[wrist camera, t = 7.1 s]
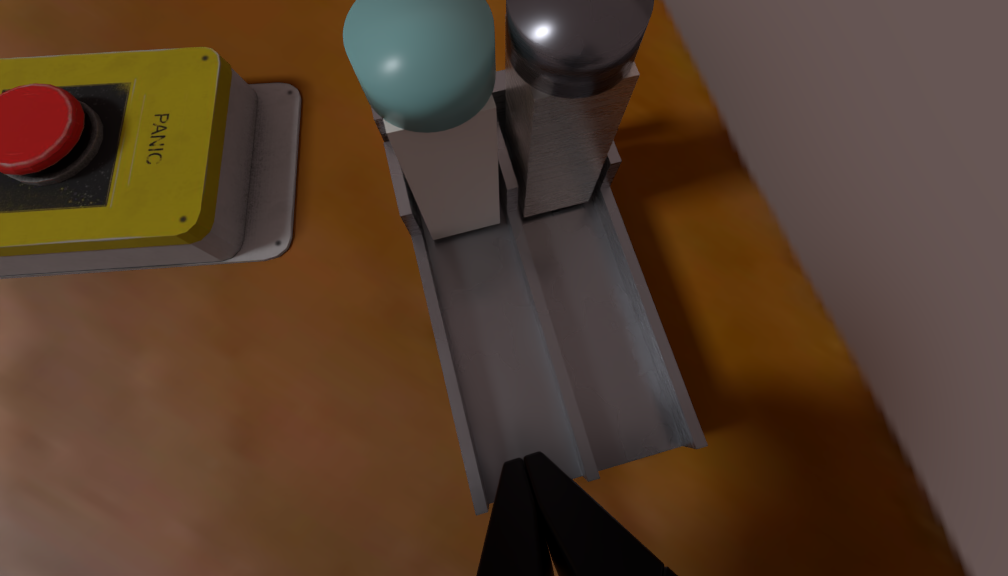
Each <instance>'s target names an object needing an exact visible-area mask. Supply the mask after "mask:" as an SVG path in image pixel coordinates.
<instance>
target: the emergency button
mask: <svg viewBox="0 0 1008 576" xmlns="http://www.w3.org/2000/svg"><path fill="white" fill-rule="evenodd" d="M300 114H301V96H300V93H299V91H298V89H296V88H295V87H293V86H292V85H291V84H286V83H263V84H247V83H246V82H245V81H244V80H243V79H242V78H241V77H240V76H239V75H238V74H237V73H236V72H235V71H234V70H233V69H232V68H231V65H230V64H229V63H228V62H227V61H225V60H224V59H223V58H222V57H221V56H220V55H219V54H218V53H217V52H215V51H214V50H213V49H212V48H206V47H193V48H176V49H159V50H141V51H124V52H107V53H90V54H72V55H55V56H38V57H20V58H3V59H0V279H6V278H21V277H36V276H51V275H65V274H80V273H95V272H110V271H124V270H139V269H154V268H169V267H183V266H198V265H213V264H227V263H242V262H257V261H267V260H271V259H274V258H278V257H279V256H281V255H282V254H283V253H284V252H285V251H287V250H288V248H289V246H290V243H291V241H292V234H293V219H294V204H295V189H296V174H297V159H298V144H299V129H300Z"/></svg>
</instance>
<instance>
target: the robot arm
mask: <svg viewBox="0 0 1008 576" xmlns="http://www.w3.org/2000/svg"><path fill="white" fill-rule="evenodd" d="M546 541H547V542H546ZM547 545H548V546H547ZM548 548H549V549H548ZM549 551H550V553H549ZM550 554H551V557H552V560H553V563H554V565H555V568H556V571H557V573H558V575H559V576H677V575H676V574H675V573H674V572H673V571H672V570H671V569H670V568H669V567H665V568H664V564H663V562H661V561H660V560H659V559H658V558H657V557H656V556H655V555H654V554H653V553H652V552H651V551H649V550H648V549H647V548H646V547H645V546H644V545H643V544H642V543H641V542H640V541H639V540H638V539H636V538H635V537H634V536H633V535H632V534H631V533H630V532H629V531H628V530H627V529H626V528H624V527H623V526H622V525H621V524H620V523H619V522H618V521H617V520H616V519H615V518H614V517H612V516H611V515H610V514H609V513H608V512H607V511H606V510H605V509H604V508H603V507H602V506H600V505H599V504H598V503H597V502H596V501H595V500H594V499H593V498H592V497H591V496H590V495H589V494H587V493H586V492H585V491H584V490H583V489H582V488H581V487H580V486H579V485H578V484H577V483H575V482H574V481H573V480H572V479H571V478H570V477H569V476H568V475H567V474H566V473H565V472H563V471H562V470H561V469H560V468H559V467H558V466H557V465H556V464H555V463H554V462H553V461H552V460H550V459H549V458H548V457H547V456H546V455H545V454H544V453H543V452H541V451H537V452H534V453H531V454H528V455H525V456H524V457H523V459H522V458H520V457H518V458H515V459H512V460H509V461H506V462H504V464H503V466H502V470H501V475H500V479H499V483H498V487H497V491H496V496H495V500H494V504H493V508H492V512H491V517H490V521H489V525H488V529H487V533H486V538H485V542H484V546H483V550H482V554H481V559H480V563H479V567H478V571H477V575H476V576H554V571H553V566H552V561H551V557H550Z"/></svg>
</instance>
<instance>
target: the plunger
mask: <svg viewBox="0 0 1008 576" xmlns="http://www.w3.org/2000/svg"><path fill="white" fill-rule="evenodd" d="M343 41H344V47H345V50H346V53H347V55H348V58H349V60H350V62H351V64H352V67H353V69H354V71H355V73H356V75H357V78H358V80H359V82H360V84H361V86H362V89H363V91H364V93H365V95H366V98H367V100H368V102H369V104H370V105H371V107H372V108H373V109H374V111H375V112H376V113H377V114H378V115H379V116H380V117H382V118H383V121H384V125H385V130H386V134H387V136H388V138H389V141H390V143H391V145H392V147H393V150H394V152H395V154H396V157H397V159H398V161H399V163H400V166H401V168H402V170H403V173H404V175H405V177H406V179H407V182H408V184H409V186H410V189H411V191H412V193H413V195H414V198H415V200H416V202H417V205H418V207H419V209H420V211H421V214H422V216H423V218H424V221H425V223H426V225H427V227H428V230H429V232H430V234H431V237H432V239H433V240H436V239H440V238H444V237H448V236H452V235H456V234H460V233H464V232H467V231H471V230H475V229H479V228H483V227H487V226H491V225H495V224H499V223H500V209H499V177H498V146H497V114H496V105H495V102H494V99H493V96H492V92H493V89H494V85H495V77H496V68H495V35H494V20H493V16H492V12H491V10H490V8H489V5H488V4H487V2H486V1H485V0H356V2H355V3H354V4H353V6H352V7H351V9H350V11H349V13H348V15H347V17H346V20H345V24H344V29H343Z"/></svg>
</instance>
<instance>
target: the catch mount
mask: <svg viewBox="0 0 1008 576" xmlns="http://www.w3.org/2000/svg"><path fill="white" fill-rule="evenodd" d="M653 4H654V0H506V15H505V70H502V71H497V72H496V77H495V85H494V89H493V92H492V96H493V99H494V102H495V105H496V114H497V146H498V177H499V209H500V223H499V224H495V225H491V226H487V227H483V228H479V229H475V230H471V231H467V232H464V233H460V234H456V235H452V236H448V237H444V238H440V239H436V240H433V239H432V237H431V234H430V232H429V230H428V227H427V225H426V223H425V221H424V218H423V216H422V214H421V211H420V209H419V207H418V205H417V202H416V200H415V198H414V195H413V193H412V191H411V189H410V186H409V184H408V182H407V179H406V177H405V175H404V173H403V170H402V168H401V166H400V163H399V161H398V159H397V157H396V154H395V152H394V150H393V147H392V145H391V143H390V141H389V138H388V136H387V134H386V130H385V125H384V121H383V118H382V117H380V116H379V115H378V114H377V113H376V112H375V111H374V109H373V108H372V107H371V108H372V112H373V116H374V120H375V123H376V125H377V127H378V129H379V131H380V133H381V136H382V138H383V140H384V147H385V151H386V155H387V160H388V164H389V169H390V173H391V177H392V182H393V186H394V191H395V195H396V200H397V204H398V208H399V213H400V217H401V218H402V220H403V222H404V224H405V226H406V227H407V229H408V231H409V233H410V235H411V236H412V241H413V245H414V249H415V254H416V258H417V262H418V267H419V271H420V275H421V280H422V284H423V288H424V293H425V297H426V301H427V306H428V310H429V314H430V319H431V323H432V327H433V332H434V336H435V340H436V344H437V349H438V353H439V357H440V362H441V366H442V370H443V375H444V379H445V383H446V388H447V392H448V396H449V401H450V405H451V409H452V414H453V418H454V422H455V427H456V431H457V435H458V440H459V444H460V448H461V452H462V457H463V461H464V465H465V470H466V474H467V478H468V483H469V487H470V491H471V496H472V500H473V504H474V509H475V513H476V515H479V514H482V513H486V512H488V509H489V504H490V503H493V502H494V500H495V496H496V491H497V487H498V483H499V479H500V475H501V470H502V466H503V464H504V462H506V461H509V460H512V459H515V458H518V457H520V458H522V459H523V457H524V456H525V455H528V454H531V453H534V452H537V451H541V452H543V453H544V454H545V455H546V456H547V457H548V458H549V459H550V460H552V461H553V462H554V463H555V464H556V465H557V466H558V467H559V468H560V469H561V470H562V471H563V472H565V473H566V474H567V475H568V476H569V477H570V478H571V479H573V478H577V477H580V476H583V477H584V478H585V479H586V480H587V481H588V482H589V481H592V480H596V479H599V478H600V477H599V474H598V471H600V470H604V469H607V468H610V467H614V466H617V465H620V464H624V463H627V462H630V461H634V460H637V459H640V458H644V457H647V456H650V455H654V454H657V453H660V452H664V451H667V450H670V449H674V448H677V447H680V446H685V447H689V448H694V449H699V448H702V447H705V446H708V445H707V442H706V440H705V437H704V434H703V432H702V429H701V426H700V424H699V421H698V419H697V416H696V413H695V411H694V408H693V405H692V403H691V400H690V397H689V395H688V392H687V389H686V387H685V384H684V381H683V379H682V376H681V374H680V371H679V368H678V366H677V363H676V360H675V358H674V355H673V352H672V350H671V347H670V344H669V342H668V339H667V337H666V334H665V331H664V329H663V326H662V323H661V321H660V318H659V315H658V313H657V310H656V307H655V305H654V302H653V300H652V297H651V294H650V292H649V289H648V286H647V284H646V281H645V278H644V276H643V273H642V270H641V268H640V265H639V262H638V260H637V257H636V255H635V252H634V249H633V247H632V244H631V241H630V239H629V236H628V233H627V231H626V228H625V225H624V223H623V220H622V218H621V215H620V212H619V210H618V207H617V204H616V202H615V199H614V196H613V194H612V191H611V188H610V185H611V183H612V181H613V178H614V176H615V174H616V172H617V170H618V168H619V166H620V164H621V162H622V161H621V158H620V156H619V153H618V151H617V148H616V146H615V143H614V137H615V135H616V132H617V130H618V127H619V125H620V122H621V120H622V117H623V115H624V112H625V110H626V107H627V105H628V103H629V100H630V98H631V95H632V93H633V90H634V88H635V85H636V83H637V80H638V78H639V75H640V74H639V72H638V70H637V67H636V65H635V63H634V60H635V57H636V54H637V52H638V49H639V46H640V44H641V41H642V38H643V35H644V33H645V30H646V27H647V25H648V22H649V19H650V17H651V13H652V10H653Z"/></svg>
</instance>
